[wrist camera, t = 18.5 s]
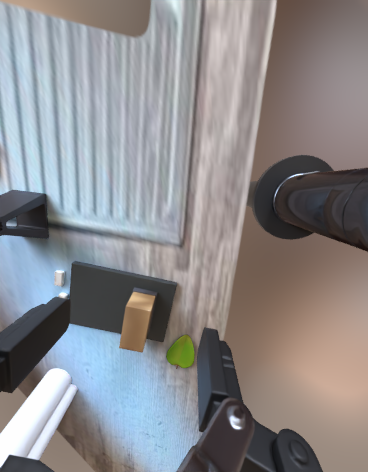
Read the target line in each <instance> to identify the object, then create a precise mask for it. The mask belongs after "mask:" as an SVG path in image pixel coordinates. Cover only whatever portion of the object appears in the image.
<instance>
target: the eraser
mask: <svg viewBox="0 0 368 472" xmlns="http://www.w3.org/2000/svg"><path fill="white" fill-rule="evenodd" d="M157 293H158V292H154V291H149V290H144V289H140V288H135V287H134V289H133V292H132V295H131V297H130V299H129V301H128V303H127V305H126V308H125V315H124V321H123V327H122V334H121V340H120V346H119V348H122V349H127V350H132V351H137V352H143V349H144V346H145V342H146V338H147V335H148V334H149V331H150V327H151V322H152V317H153V312H154V307H155V302H156V298H157Z"/></svg>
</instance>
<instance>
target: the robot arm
mask: <svg viewBox="0 0 368 472" xmlns="http://www.w3.org/2000/svg"><path fill="white" fill-rule="evenodd" d="M316 172H318V171H316ZM272 208H273V211H274V213H275V215H276V216H277V217H278V218H279V219H280V220H281V221H283V222H286V223H289V224H293V225H295V226H298V227H301V228H304V229H306V230H309V231H312V232H315V233H317V234H320V235H323V236H326V237H329V238H331V239H334V240H337V241H339V242H343V243H345V244H348V245H351V246H354V247H356V248H359V249H362V250H365V251H367V252H368V168H360V169H351V170H341V171H331V172H321V173H313V172H311V174H308V173H306V174H297V175H293V176H290V177H288V178H286V179H284V180H283V181H282V182H281V183H280V184H279V185H278V186H277V188H276V189H275V191H274V194H273V197H272ZM70 310H71V301H70V299H65V298H60V297H54V298H53V299H52V300H50V301H49V302H48V303H47V304H41V305H39V306H37V307H35V308H32V309H31V310H29V311H28V312H27V313H25V314H24V315H23V316H22V317H20V318H19V319H17V320H16V321H15V322H14V323H12V324H11V325H10V326H8V327H7V328H6V329H4V330H3V331H2V332H0V392H1V391H3V392H8V393H12V392H13V391H14V390H15V389H16V388H17V387H18V386H19V384H20V383H21V382H22V381H23V380H24V379H25V378H26V376H27V375H28V374H29V373H30V372H31V371H32V370H33V368H34V367H35V366H36V365H37V364H38V363H39V362H40V360H41V359H42V358H43V357H44V356H45V355H46V354H47V352H48V351H49V350H50V349H51V348H52V347H53V346H54V344H55V343H56V342H57V341H58V340H59V339H60V338H61V336H62V335H63V334H64V333H65V332H66V330H67V328H68V326H69V323H70ZM197 373H198V409H199V431H200V432H203V434H202V436H201V437H200V439H199V441H198V442H197V444H196V445H195V446H193V447H192V448H191V449H190V450H189V452H188V454H187V455H186V457H185V458H184V460H183V462H182V463H181V465H180V466H179V468H178V470H177V471H176V472H323V471H322V469H321V467H320V464H319V461H318V459H317V457H316V455H315V453H314V451H313V449H312V448H311V447H310V445H309V444H308V443H307V442H306V441H305V439H304V438H303V437H301V436H300V435H299V434H297V433H296V432H294V431H292V430H290V429H282V430H281V431H280V432H279V433H278V434H276V433H275V432H273V431H271V430H270V429H268V428H266V427H265V426H263V425H261V424H259V423H258V422H257V421H256V420H255V419H254V418H253V417H252V414H251V412H250V411H249V409H248V408H247V407H246V405H245V404H244V403H243V400H242V396H241V392H240V387H239V384H238V379H237V375H236V370H235V366H234V362H233V358H232V353H231V350H230V348H229V346H228V345H227V344H226V342H225V341H220V340H219V335H218V331H217V330H215V329H210V328H206V327H205V328H204V330H203V333H202V337H201V341H200V344H199V348H198V354H197ZM0 472H54V471H53V470H51V469H50V468H49V467H48V466H46V465H45V464H43V463H42V462H41V461H39V460H36V459H30V458H25V457H20V456H15V455H10V454H9V456H8V457H7V459H6V460H5V462H4V463H3V465H2V466H1V467H0Z"/></svg>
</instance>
